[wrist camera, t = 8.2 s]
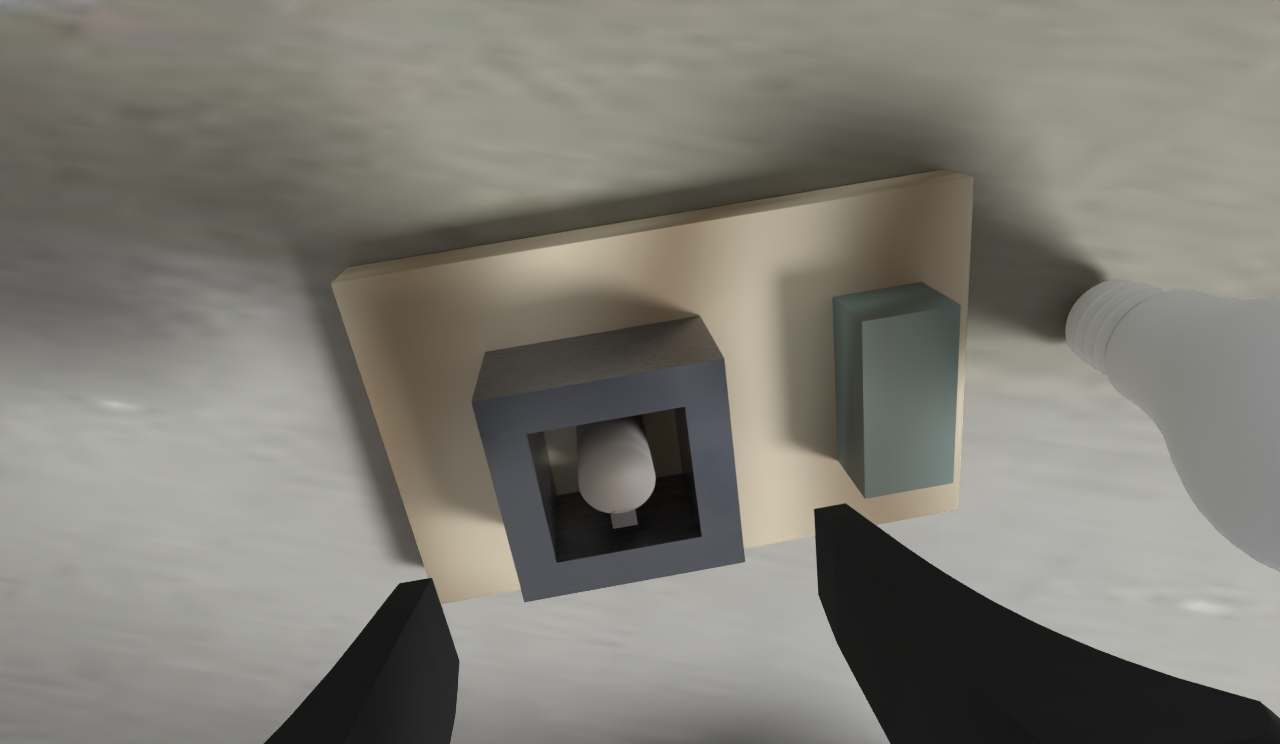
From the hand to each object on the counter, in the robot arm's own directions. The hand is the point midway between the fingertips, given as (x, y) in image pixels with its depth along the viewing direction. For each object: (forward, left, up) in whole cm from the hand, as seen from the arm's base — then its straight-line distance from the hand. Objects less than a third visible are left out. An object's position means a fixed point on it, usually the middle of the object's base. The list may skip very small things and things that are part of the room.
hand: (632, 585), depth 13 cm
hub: (0, 0, -7) cm, 7 cm away
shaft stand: (+2, -1, -8) cm, 8 cm away
